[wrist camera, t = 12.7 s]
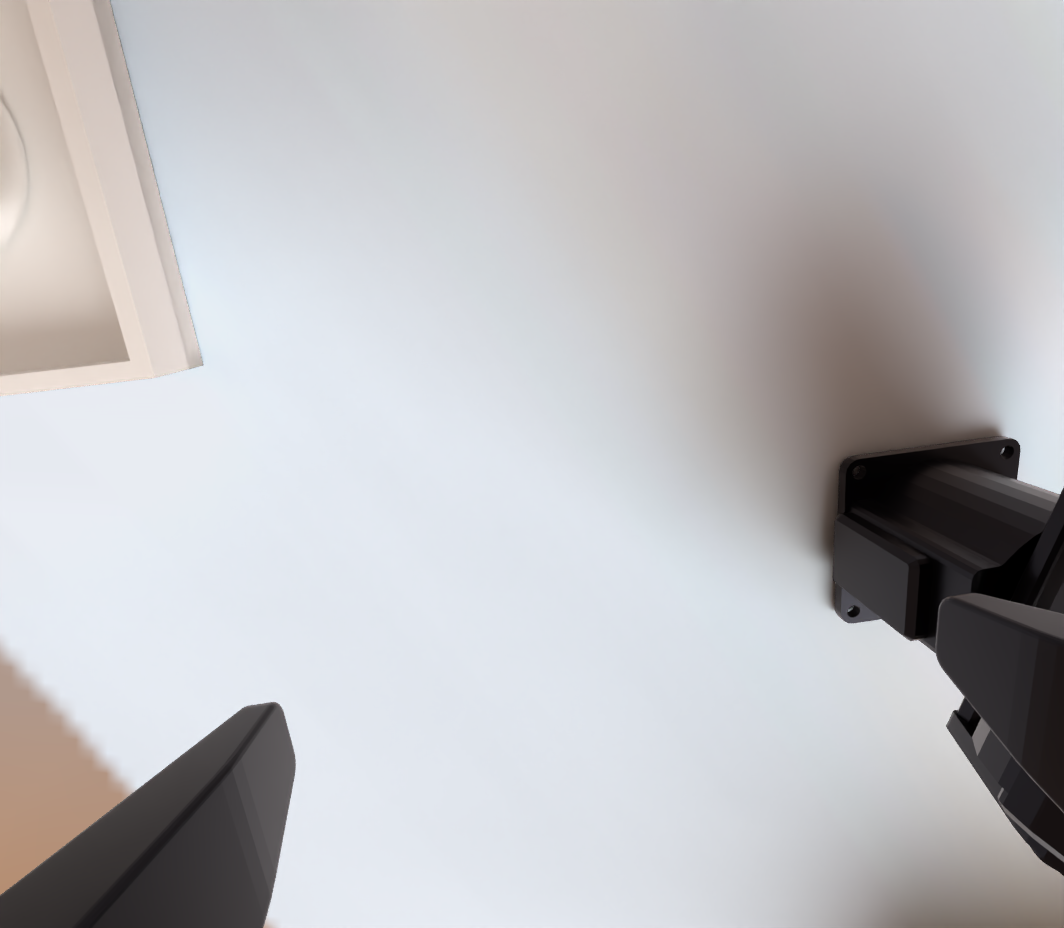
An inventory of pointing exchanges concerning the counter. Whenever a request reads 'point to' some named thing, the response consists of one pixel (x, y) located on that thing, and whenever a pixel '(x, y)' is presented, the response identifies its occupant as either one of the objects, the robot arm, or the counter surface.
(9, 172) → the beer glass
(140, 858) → the robot arm
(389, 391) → the counter surface
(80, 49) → the tray
